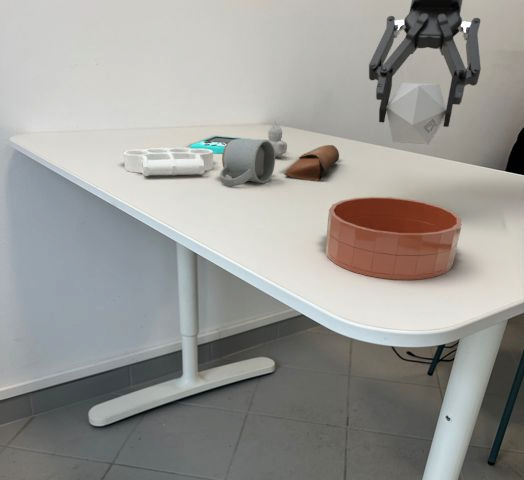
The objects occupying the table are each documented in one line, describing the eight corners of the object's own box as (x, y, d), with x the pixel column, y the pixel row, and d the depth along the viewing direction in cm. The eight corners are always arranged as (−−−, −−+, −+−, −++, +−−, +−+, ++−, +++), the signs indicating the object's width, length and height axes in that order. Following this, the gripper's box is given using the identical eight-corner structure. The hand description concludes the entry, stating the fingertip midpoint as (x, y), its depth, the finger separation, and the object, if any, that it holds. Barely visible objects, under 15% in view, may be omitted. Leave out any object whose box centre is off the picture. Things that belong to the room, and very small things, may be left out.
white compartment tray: (126, 179, 101) (124, 163, 113) (220, 177, 105) (208, 161, 118) (125, 161, 99) (122, 147, 112) (220, 159, 104) (208, 145, 116)
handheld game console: (188, 150, 128) (188, 144, 127) (214, 140, 141) (214, 134, 141) (228, 154, 126) (228, 148, 125) (250, 143, 139) (250, 138, 138)
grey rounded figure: (278, 154, 127) (280, 117, 123) (292, 159, 122) (294, 121, 118) (258, 155, 125) (259, 118, 121) (271, 161, 120) (273, 122, 116)
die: (415, 154, 77) (465, 93, 74) (368, 116, 78) (415, 55, 75) (415, 165, 85) (460, 111, 82) (372, 131, 86) (415, 76, 84)
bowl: (452, 243, 75) (460, 204, 72) (452, 288, 61) (463, 241, 59) (337, 230, 79) (341, 192, 76) (314, 268, 65) (317, 224, 63)
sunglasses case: (301, 158, 121) (318, 132, 117) (326, 177, 122) (344, 151, 118) (282, 175, 106) (301, 146, 102) (310, 196, 107) (330, 168, 103)
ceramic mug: (240, 173, 109) (240, 132, 105) (275, 179, 105) (276, 137, 101) (209, 184, 101) (208, 141, 97) (246, 190, 97) (246, 146, 93)
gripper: (505, 16, 84) (486, 140, 79) (369, 13, 89) (342, 130, 84) (518, -29, 77) (497, 104, 72) (368, -29, 82) (339, 95, 77)
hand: (413, 118), depth 78 cm, fingers closed on die, 8 cm apart
